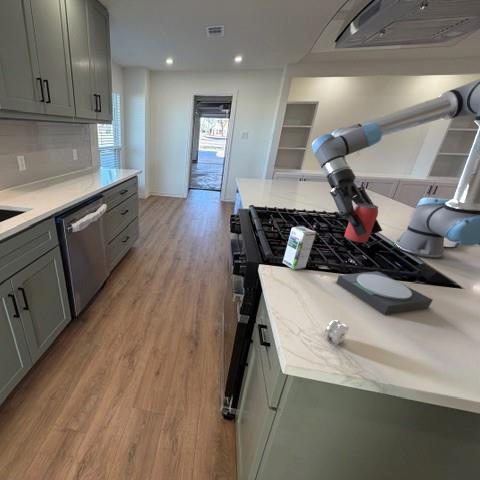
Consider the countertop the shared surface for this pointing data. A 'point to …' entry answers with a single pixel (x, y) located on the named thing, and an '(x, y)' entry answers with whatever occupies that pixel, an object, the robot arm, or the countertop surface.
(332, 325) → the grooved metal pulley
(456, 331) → the countertop surface
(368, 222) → the beer can
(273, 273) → the countertop surface
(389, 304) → the kitchen scale
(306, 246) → the syrup box
